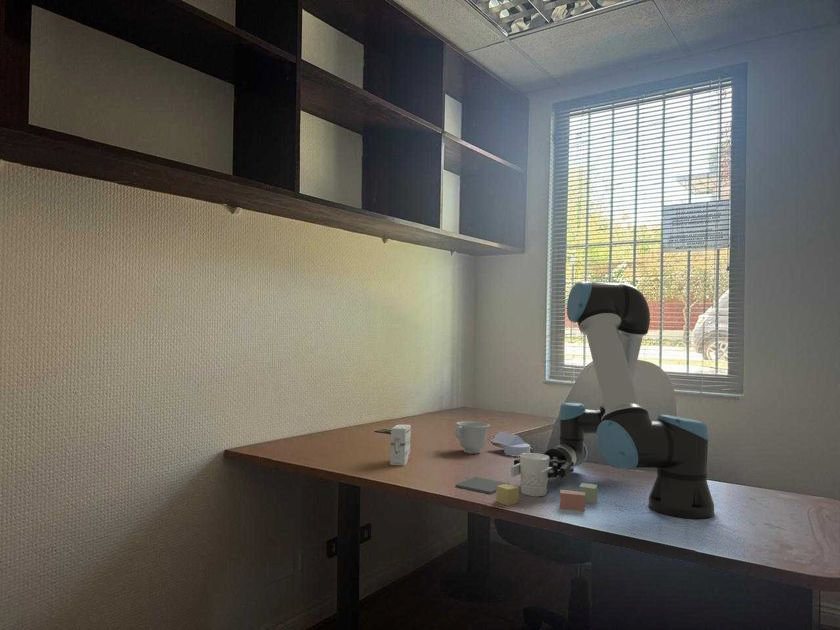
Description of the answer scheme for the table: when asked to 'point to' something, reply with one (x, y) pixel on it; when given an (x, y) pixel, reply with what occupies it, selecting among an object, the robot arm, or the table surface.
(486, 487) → the slate coaster
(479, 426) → the teacup
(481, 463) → the table surface
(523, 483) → the white cup
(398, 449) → the ink box
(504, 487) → the mustard block
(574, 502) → the brick-red long block
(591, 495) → the sage block
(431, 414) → the table surface
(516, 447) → the wedge on round base
